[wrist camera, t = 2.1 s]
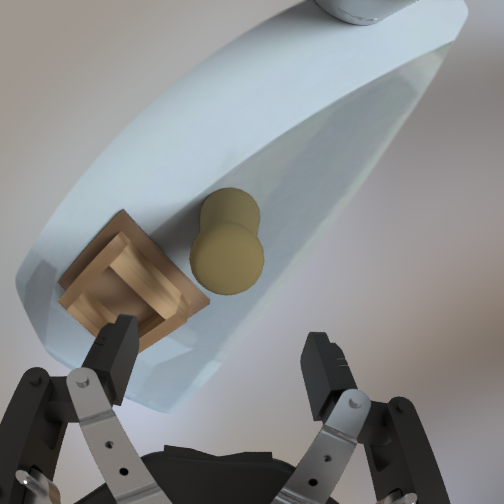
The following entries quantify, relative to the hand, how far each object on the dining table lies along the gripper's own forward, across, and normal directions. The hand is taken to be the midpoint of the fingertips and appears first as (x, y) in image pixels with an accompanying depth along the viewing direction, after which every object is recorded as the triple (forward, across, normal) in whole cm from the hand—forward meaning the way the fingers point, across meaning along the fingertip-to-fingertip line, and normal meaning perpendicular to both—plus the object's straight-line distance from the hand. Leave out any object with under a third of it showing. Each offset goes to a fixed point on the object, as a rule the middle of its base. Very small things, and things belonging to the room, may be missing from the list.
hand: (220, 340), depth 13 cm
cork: (+18, 0, 0) cm, 18 cm away
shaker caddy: (+18, +11, +10) cm, 23 cm away
